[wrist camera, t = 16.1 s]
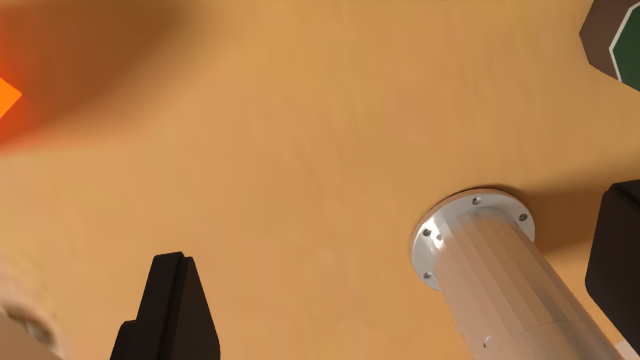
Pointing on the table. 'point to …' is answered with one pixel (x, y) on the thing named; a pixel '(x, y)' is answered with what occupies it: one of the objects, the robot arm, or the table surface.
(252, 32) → the table surface
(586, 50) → the beer bottle
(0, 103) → the orange juice
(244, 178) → the table surface
